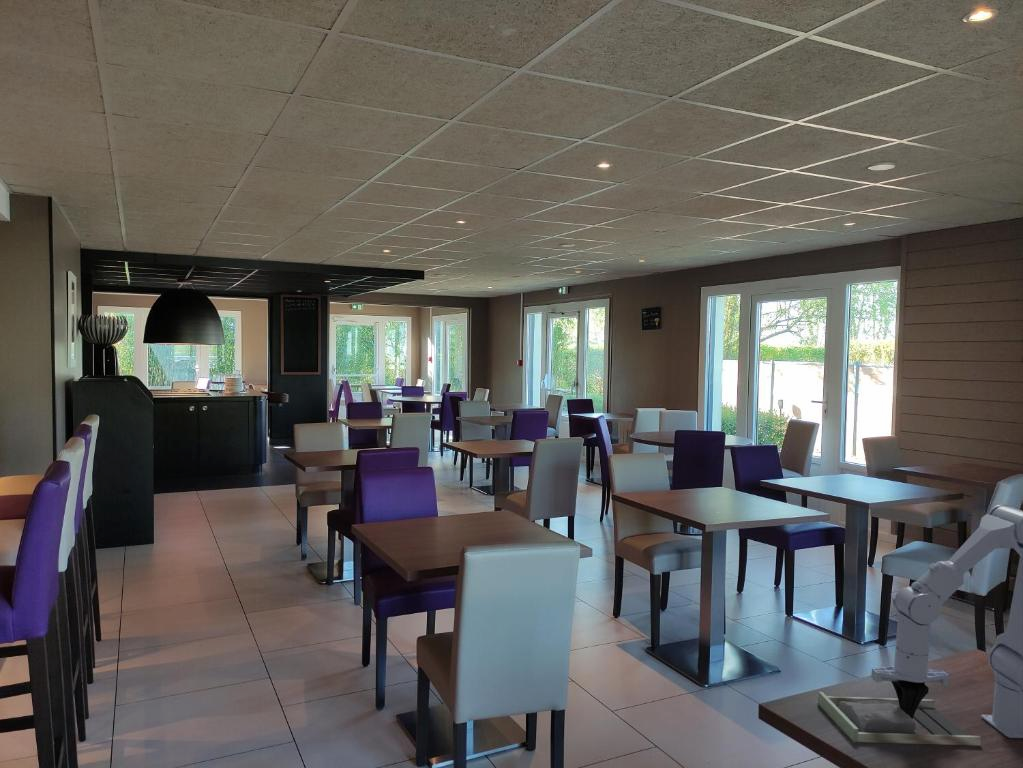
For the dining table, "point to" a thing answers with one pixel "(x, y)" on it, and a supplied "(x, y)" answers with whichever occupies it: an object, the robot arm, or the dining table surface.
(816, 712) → the dining table surface
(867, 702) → the stone block
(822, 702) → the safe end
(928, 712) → the tiles
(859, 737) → the grey cream flat frame
